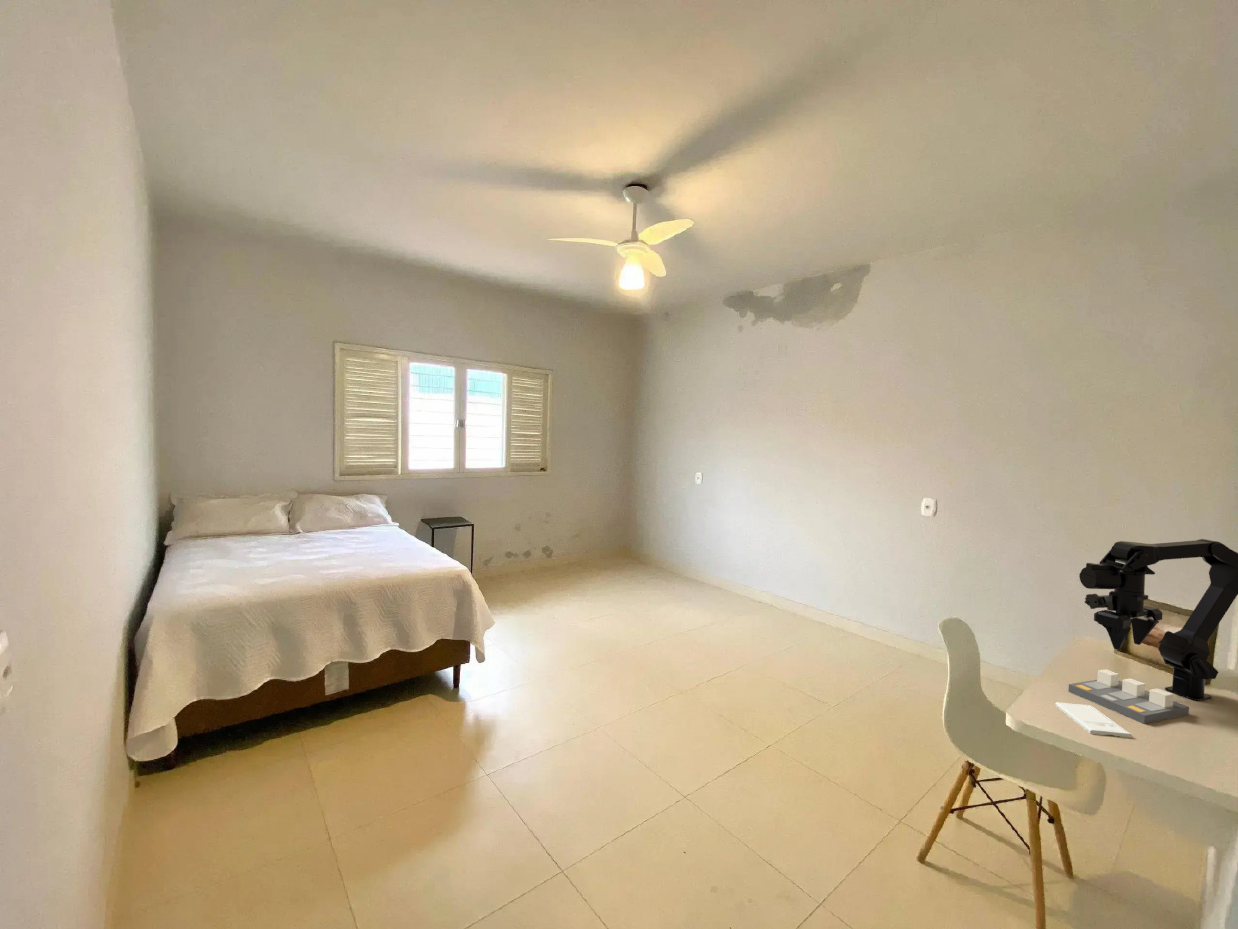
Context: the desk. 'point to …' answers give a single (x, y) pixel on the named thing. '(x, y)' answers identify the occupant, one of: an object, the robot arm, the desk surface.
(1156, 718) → the switch panel
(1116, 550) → the robot arm
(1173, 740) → the desk surface
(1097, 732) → the external hard drive
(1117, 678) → the tab
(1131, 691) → the tab
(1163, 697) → the tab
